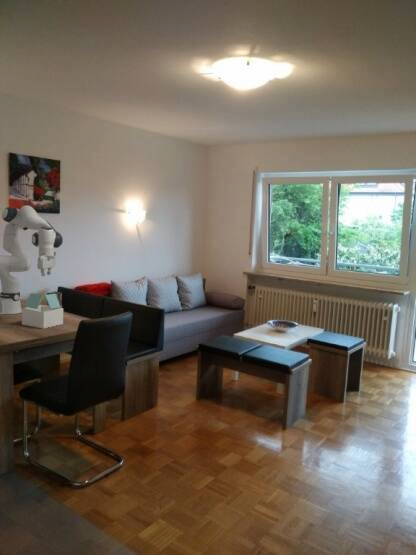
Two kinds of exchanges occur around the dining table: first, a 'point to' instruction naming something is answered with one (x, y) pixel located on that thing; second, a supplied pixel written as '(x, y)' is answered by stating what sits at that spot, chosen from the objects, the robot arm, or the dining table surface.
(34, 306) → the teal flap long
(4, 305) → the robot arm
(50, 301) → the teal flap short
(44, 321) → the carton
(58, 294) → the coffee box
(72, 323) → the dining table surface
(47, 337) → the dining table surface
